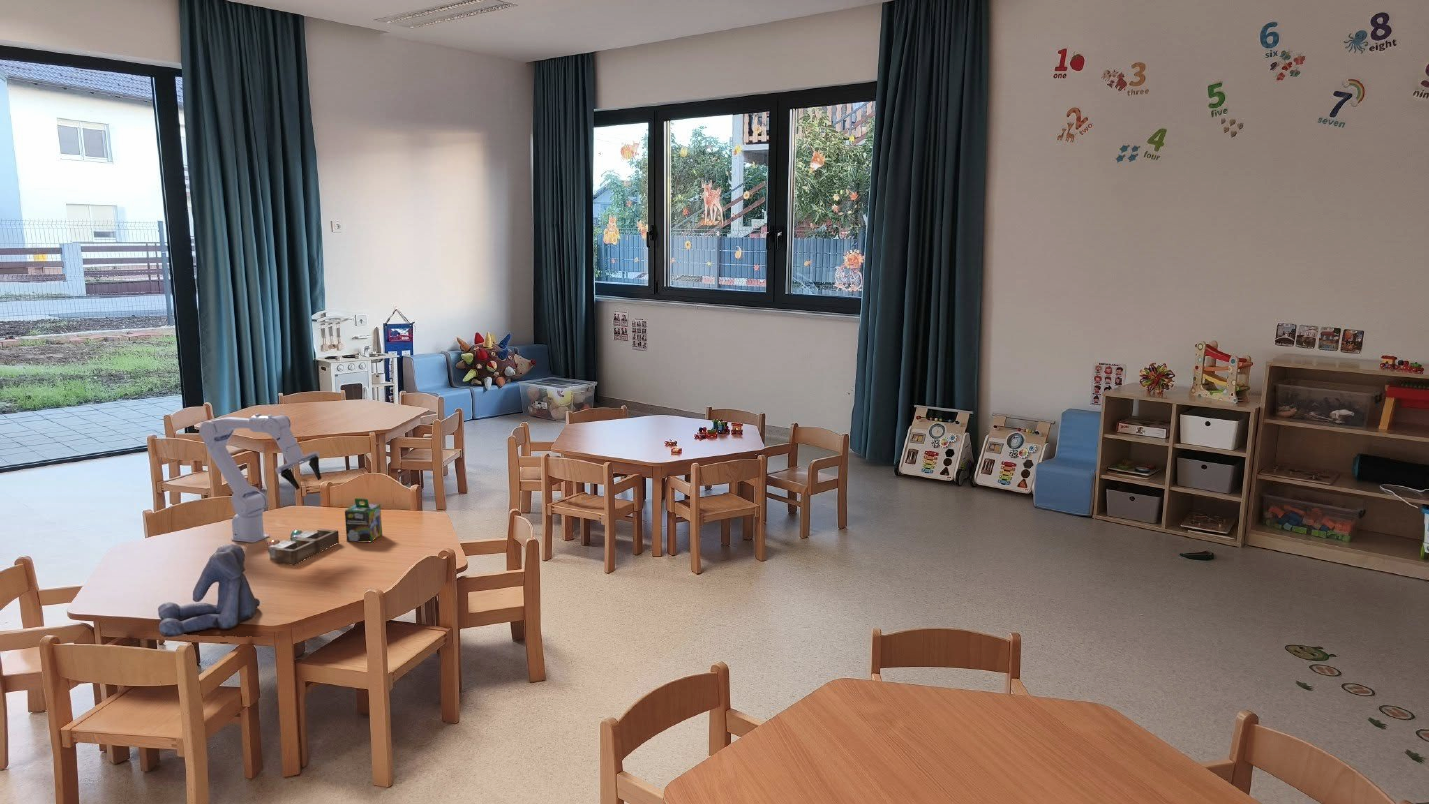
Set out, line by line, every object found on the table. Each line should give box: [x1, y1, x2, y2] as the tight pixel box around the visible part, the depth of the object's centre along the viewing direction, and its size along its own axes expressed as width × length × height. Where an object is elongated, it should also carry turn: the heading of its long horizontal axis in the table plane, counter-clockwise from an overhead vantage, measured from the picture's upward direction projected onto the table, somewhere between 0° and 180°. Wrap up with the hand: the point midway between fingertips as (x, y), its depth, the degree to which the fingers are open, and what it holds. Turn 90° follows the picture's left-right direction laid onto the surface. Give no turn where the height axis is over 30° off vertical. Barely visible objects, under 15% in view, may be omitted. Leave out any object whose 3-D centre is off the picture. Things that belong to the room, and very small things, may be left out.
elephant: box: [157, 543, 261, 638], centre depth 252 cm, size 21×25×21 cm
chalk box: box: [344, 497, 383, 542], centre depth 323 cm, size 9×9×15 cm
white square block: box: [266, 539, 297, 559], centre depth 304 cm, size 7×7×5 cm
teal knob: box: [289, 529, 319, 542], centre depth 315 cm, size 7×7×5 cm
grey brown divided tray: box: [274, 528, 340, 566], centre depth 308 cm, size 7×23×5 cm, turn 166°
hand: (309, 484), depth 311 cm, fingers open, 7 cm apart
